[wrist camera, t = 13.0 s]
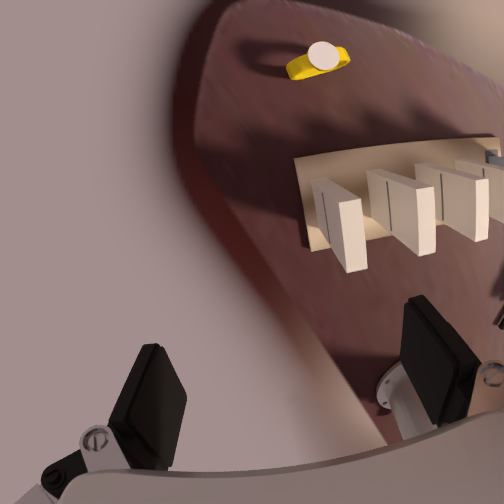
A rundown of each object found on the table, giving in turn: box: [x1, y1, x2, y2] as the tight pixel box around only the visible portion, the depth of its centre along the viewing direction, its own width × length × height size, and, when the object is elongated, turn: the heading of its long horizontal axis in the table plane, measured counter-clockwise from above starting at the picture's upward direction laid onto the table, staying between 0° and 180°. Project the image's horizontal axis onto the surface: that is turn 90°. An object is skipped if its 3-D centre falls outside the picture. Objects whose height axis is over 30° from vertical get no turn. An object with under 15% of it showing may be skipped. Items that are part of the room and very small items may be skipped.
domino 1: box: [311, 177, 367, 273], centre depth 25 cm, size 2×5×11 cm, turn 12°
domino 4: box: [455, 158, 504, 223], centre depth 24 cm, size 2×5×11 cm, turn 12°
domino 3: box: [414, 163, 489, 242], centre depth 24 cm, size 2×5×11 cm, turn 12°
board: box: [294, 137, 501, 252], centre depth 30 cm, size 10×28×1 cm, turn 102°
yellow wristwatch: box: [286, 42, 350, 80], centre depth 23 cm, size 6×3×6 cm, turn 112°
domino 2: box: [366, 169, 436, 256], centre depth 25 cm, size 2×5×11 cm, turn 12°
